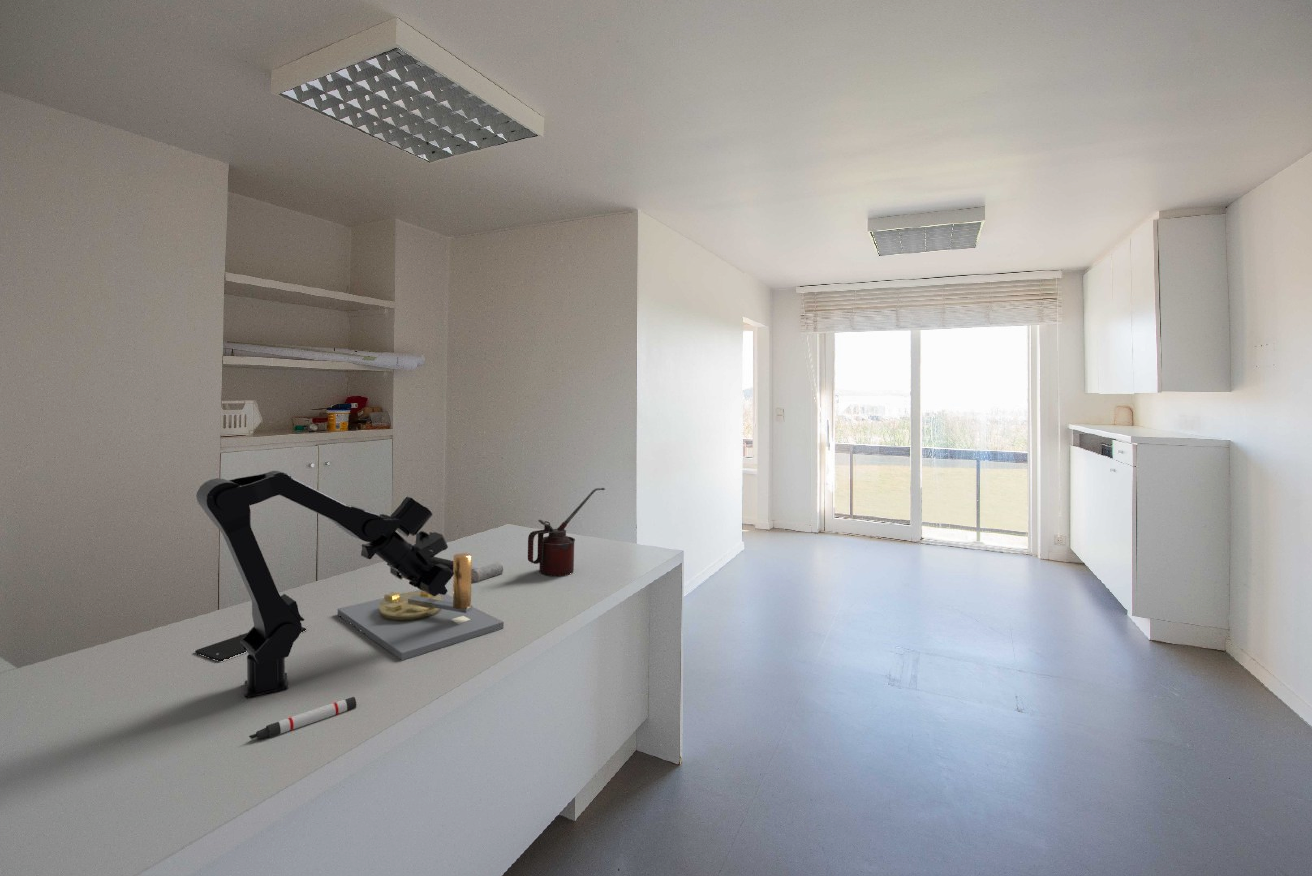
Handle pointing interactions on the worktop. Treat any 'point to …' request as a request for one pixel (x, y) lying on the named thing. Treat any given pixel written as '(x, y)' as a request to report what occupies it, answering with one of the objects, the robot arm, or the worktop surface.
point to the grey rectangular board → (419, 627)
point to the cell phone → (224, 648)
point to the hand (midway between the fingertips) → (445, 592)
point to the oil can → (555, 547)
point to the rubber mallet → (474, 569)
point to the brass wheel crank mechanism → (426, 604)
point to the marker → (305, 718)
